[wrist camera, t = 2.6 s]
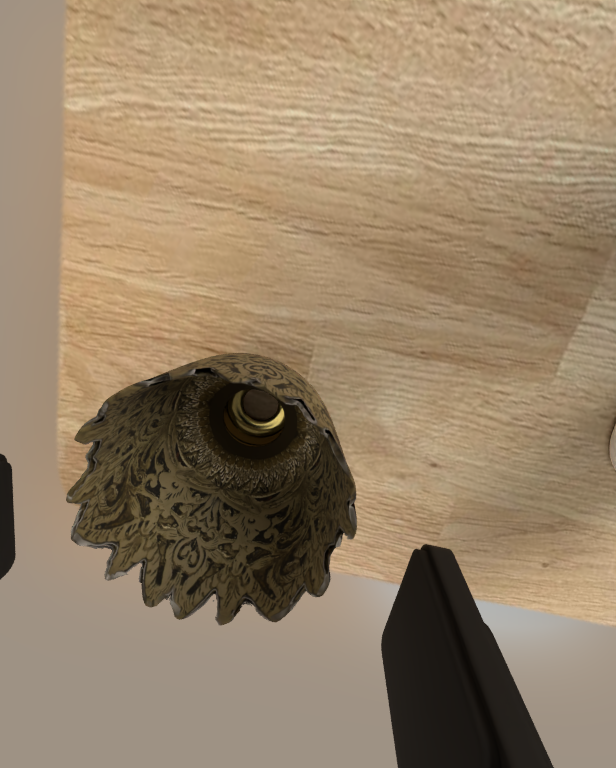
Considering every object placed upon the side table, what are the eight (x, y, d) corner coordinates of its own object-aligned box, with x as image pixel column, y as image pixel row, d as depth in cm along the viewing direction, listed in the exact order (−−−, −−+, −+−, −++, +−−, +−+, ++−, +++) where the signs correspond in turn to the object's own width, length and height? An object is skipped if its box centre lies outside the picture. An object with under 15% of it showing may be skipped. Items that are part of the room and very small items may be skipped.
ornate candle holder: (211, 293, 15) (99, 319, 8) (370, 363, 16) (412, 452, 8) (161, 439, 18) (35, 572, 10) (302, 496, 18) (286, 662, 11)
